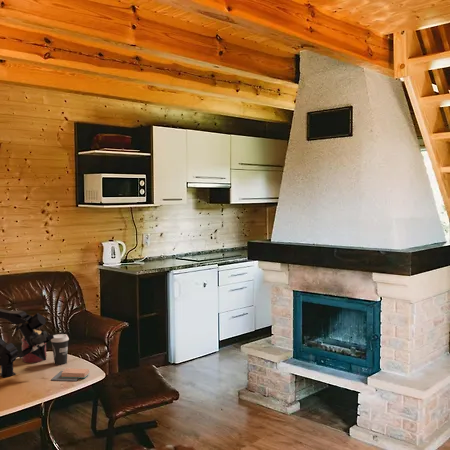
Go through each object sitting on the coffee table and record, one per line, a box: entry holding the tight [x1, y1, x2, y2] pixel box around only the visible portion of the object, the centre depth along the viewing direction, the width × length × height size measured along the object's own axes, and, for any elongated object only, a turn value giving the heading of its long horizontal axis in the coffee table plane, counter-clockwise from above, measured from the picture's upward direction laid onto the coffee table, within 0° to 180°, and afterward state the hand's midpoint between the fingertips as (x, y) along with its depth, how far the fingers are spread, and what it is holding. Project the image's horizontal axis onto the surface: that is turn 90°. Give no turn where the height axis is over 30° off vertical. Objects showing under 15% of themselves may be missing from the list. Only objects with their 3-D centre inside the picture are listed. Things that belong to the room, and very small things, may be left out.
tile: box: [61, 367, 90, 379], centre depth 272 cm, size 2×6×12 cm
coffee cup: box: [50, 333, 70, 366], centre depth 293 cm, size 10×10×15 cm
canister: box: [21, 329, 48, 364], centre depth 299 cm, size 13×13×18 cm
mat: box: [50, 370, 80, 382], centre depth 273 cm, size 13×12×1 cm
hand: (45, 360), depth 272 cm, fingers closed
